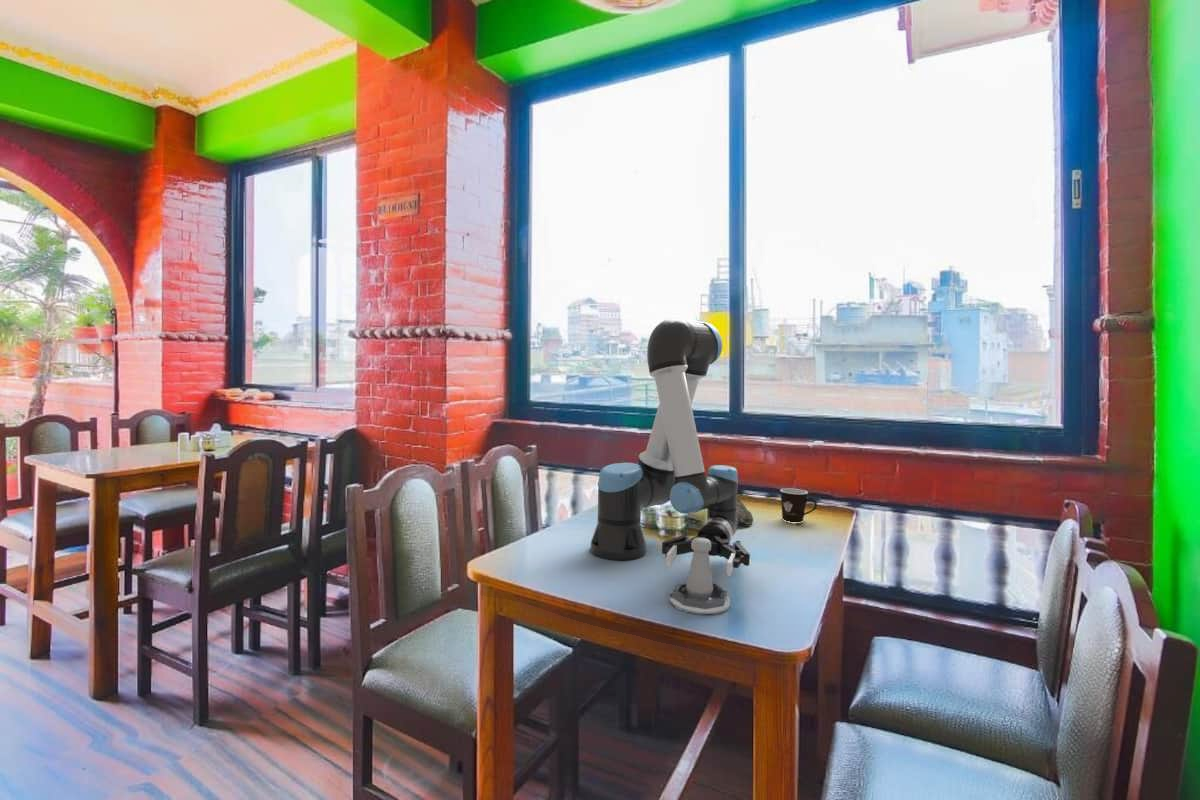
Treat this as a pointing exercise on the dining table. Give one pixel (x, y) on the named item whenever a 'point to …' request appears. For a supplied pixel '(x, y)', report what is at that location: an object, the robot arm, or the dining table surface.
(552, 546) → the dining table surface
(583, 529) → the dining table surface
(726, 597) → the steel collar
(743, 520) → the fossil
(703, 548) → the salt shaker
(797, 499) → the coffee mug
